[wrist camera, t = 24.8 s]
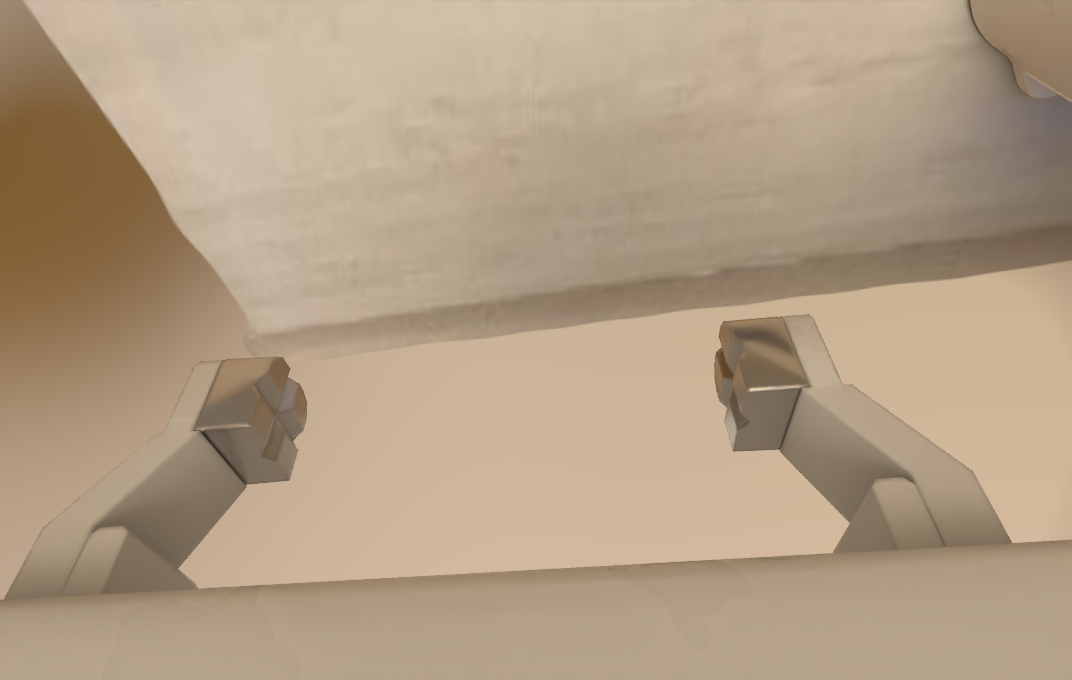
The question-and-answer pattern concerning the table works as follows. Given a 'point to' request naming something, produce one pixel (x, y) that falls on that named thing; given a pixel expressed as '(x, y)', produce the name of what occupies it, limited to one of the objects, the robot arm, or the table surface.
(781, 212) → the table surface
